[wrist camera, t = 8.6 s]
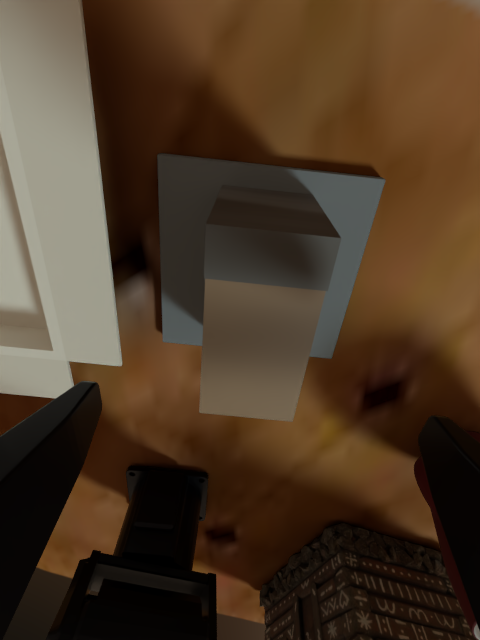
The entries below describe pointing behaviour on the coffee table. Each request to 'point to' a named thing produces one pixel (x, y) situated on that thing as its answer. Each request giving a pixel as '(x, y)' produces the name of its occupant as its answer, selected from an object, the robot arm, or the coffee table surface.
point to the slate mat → (210, 174)
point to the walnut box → (262, 299)
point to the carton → (50, 204)
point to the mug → (447, 546)
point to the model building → (363, 591)
